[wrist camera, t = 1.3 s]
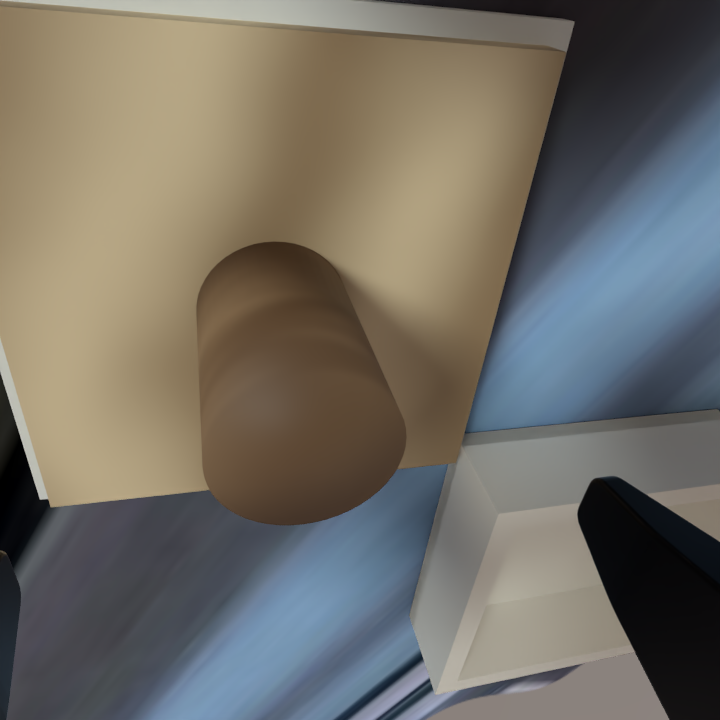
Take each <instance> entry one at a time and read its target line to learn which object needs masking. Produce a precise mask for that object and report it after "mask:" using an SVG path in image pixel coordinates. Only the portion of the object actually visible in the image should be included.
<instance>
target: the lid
mask: <svg viewBox="0 0 720 720" xmlns="http://www.w3.org/2000/svg"><path fill="white" fill-rule="evenodd" d="M565 55H566V52H565V51H562V50H559V49H556V48H553V47H550V46H545V45H533V44H521V43H508V42H496V41H484V40H472V39H460V38H448V37H436V36H424V35H412V34H400V33H388V32H376V31H364V30H352V29H340V28H328V27H315V26H303V25H291V24H279V23H267V22H255V21H243V20H231V19H219V18H207V17H195V16H183V15H171V14H159V13H146V12H134V11H122V10H110V9H98V8H86V7H74V6H62V5H50V4H38V3H26V2H14V1H2V0H0V339H1V342H2V345H3V349H4V352H5V355H6V359H7V362H8V365H9V369H10V372H11V376H12V379H13V382H14V386H15V389H16V392H17V396H18V399H19V402H20V406H21V409H22V412H23V416H24V419H25V422H26V426H27V429H28V432H29V436H30V439H31V442H32V446H33V449H34V452H35V456H36V459H37V463H38V466H39V469H40V473H41V476H42V479H43V483H44V486H45V489H46V493H47V496H48V499H49V503H50V506H51V507H59V506H68V505H77V504H86V503H95V502H104V501H113V500H122V499H131V498H141V497H150V496H159V495H168V494H177V493H186V492H195V491H204V490H210V491H211V493H212V494H213V496H214V497H215V498H216V499H217V500H218V501H219V502H220V503H221V504H222V505H223V506H225V507H226V508H227V509H229V510H230V511H232V512H234V513H235V514H237V515H239V516H242V517H244V518H246V519H249V520H253V521H256V522H261V523H266V524H274V525H299V524H307V523H313V522H318V521H322V520H326V519H329V518H332V517H335V516H338V515H340V514H343V513H345V512H347V511H349V510H351V509H353V508H355V507H357V506H359V505H360V504H362V503H363V502H365V501H366V500H368V499H369V498H371V497H372V496H373V495H374V494H376V493H377V492H378V491H379V490H380V489H381V488H382V487H383V486H384V485H385V484H386V483H387V482H388V481H389V479H390V478H391V477H392V476H393V474H394V473H395V471H396V470H397V469H405V468H414V467H423V466H432V465H441V464H450V463H456V462H457V458H458V454H459V451H460V447H461V443H462V439H463V436H464V432H465V428H466V425H467V421H468V417H469V413H470V410H471V406H472V402H473V398H474V395H475V391H476V387H477V384H478V380H479V376H480V372H481V369H482V365H483V361H484V357H485V354H486V350H487V346H488V343H489V339H490V335H491V331H492V328H493V324H494V320H495V316H496V313H497V309H498V305H499V301H500V298H501V294H502V290H503V287H504V283H505V279H506V275H507V272H508V268H509V264H510V260H511V257H512V253H513V249H514V246H515V242H516V238H517V234H518V231H519V227H520V223H521V219H522V216H523V212H524V208H525V205H526V201H527V197H528V193H529V190H530V186H531V182H532V178H533V175H534V171H535V167H536V163H537V160H538V156H539V152H540V149H541V145H542V141H543V137H544V134H545V130H546V126H547V122H548V119H549V115H550V111H551V108H552V104H553V100H554V96H555V93H556V89H557V85H558V81H559V78H560V74H561V70H562V67H563V63H564V59H565Z"/></svg>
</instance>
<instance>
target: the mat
mask: <svg viewBox="0 0 720 720" xmlns="http://www.w3.org/2000/svg"><path fill="white" fill-rule="evenodd" d="M2 1H14V2H26V3H38V4H50V5H62V6H74V7H86V8H98V9H110V10H122V11H134V12H146V13H159V14H171V15H183V16H195V17H207V18H219V19H231V20H243V21H255V22H267V23H279V24H291V25H303V26H315V27H328V28H340V29H352V30H364V31H376V32H388V33H400V34H412V35H424V36H436V37H448V38H460V39H472V40H484V41H496V42H508V43H521V44H533V45H545V46H550V47H553V48H556V49H559V50H562V51H565V52H566V53H567V49H568V45H569V41H570V38H571V34H572V30H573V27H574V23H575V22H574V21H570V20H566V19H561V18H551V17H541V16H530V15H520V14H510V13H499V12H489V11H478V10H468V9H458V8H447V7H437V6H427V5H416V4H406V3H395V2H385V1H375V0H2ZM565 56H566V55H565ZM564 60H565V59H564ZM563 64H564V63H563ZM562 68H563V67H562ZM561 71H562V70H561ZM560 75H561V74H560ZM559 79H560V78H559ZM558 82H559V81H558ZM557 86H558V85H557ZM556 90H557V89H556ZM555 94H556V93H555ZM554 97H555V96H554ZM553 101H554V100H553ZM552 105H553V104H552ZM551 109H552V108H551ZM550 112H551V111H550ZM549 116H550V115H549ZM548 120H549V119H548ZM547 123H548V122H547ZM546 127H547V126H546ZM545 131H546V130H545ZM544 135H545V134H544ZM543 138H544V137H543ZM542 142H543V141H542ZM541 146H542V145H541ZM540 150H541V149H540ZM539 153H540V152H539ZM538 157H539V156H538ZM537 161H538V160H537ZM536 164H537V163H536ZM535 168H536V167H535ZM534 172H535V171H534ZM533 176H534V175H533ZM532 179H533V178H532ZM531 183H532V182H531ZM530 187H531V186H530ZM529 191H530V190H529ZM528 194H529V193H528ZM527 198H528V197H527ZM526 202H527V201H526ZM524 209H525V208H524ZM523 213H524V212H523ZM522 217H523V216H522ZM521 220H522V219H521ZM520 224H521V223H520ZM519 228H520V227H519ZM518 232H519V231H518ZM517 235H518V234H517ZM516 239H517V238H516ZM515 243H516V242H515ZM513 250H514V249H513ZM512 254H513V253H512ZM511 258H512V257H511ZM510 261H511V260H510ZM509 265H510V264H509ZM508 269H509V268H508ZM506 276H507V275H506ZM505 280H506V279H505ZM504 284H505V283H504ZM502 291H503V290H502ZM501 295H502V294H501ZM500 299H501V298H500ZM499 302H500V301H499ZM498 306H499V305H498ZM497 310H498V309H497ZM495 317H496V316H495ZM494 321H495V320H494ZM493 325H494V324H493ZM491 332H492V331H491ZM490 336H491V335H490ZM489 340H490V339H489ZM487 347H488V346H487ZM486 351H487V350H486ZM484 358H485V357H484ZM483 362H484V361H483ZM482 366H483V365H482ZM0 372H1V376H2V379H3V382H4V385H5V388H6V392H7V395H8V398H9V401H10V405H11V408H12V411H13V414H14V417H15V421H16V424H17V427H18V430H19V433H20V437H21V440H22V443H23V446H24V450H25V453H26V456H27V459H28V462H29V466H30V469H31V472H32V475H33V478H34V482H35V485H36V488H37V491H38V495H39V498H40V500H41V499H48V496H47V493H46V489H45V486H44V483H43V479H42V476H41V473H40V469H39V466H38V463H37V459H36V456H35V452H34V449H33V446H32V442H31V439H30V436H29V432H28V429H27V426H26V422H25V419H24V416H23V412H22V409H21V406H20V402H19V399H18V396H17V392H16V389H15V386H14V382H13V379H12V376H11V372H10V369H9V365H8V362H7V359H6V355H5V352H4V349H3V345H2V342H1V339H0ZM480 373H481V372H480ZM479 377H480V376H479ZM478 381H479V380H478ZM476 388H477V387H476ZM475 392H476V391H475ZM473 399H474V398H473ZM472 403H473V402H472ZM471 407H472V406H471ZM469 414H470V413H469ZM468 418H469V417H468ZM467 422H468V421H467ZM465 429H466V428H465ZM464 433H465V432H464ZM462 440H463V439H462ZM461 444H462V443H461ZM460 448H461V447H460ZM458 455H459V454H458Z"/></svg>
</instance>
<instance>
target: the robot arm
mask: <svg viewBox="0 0 720 720" xmlns="http://www.w3.org/2000/svg"><path fill="white" fill-rule="evenodd" d="M577 518H578V523H579V526H580V528H581V531H582V533H583V536H584V538H585V541H586V543H587V546H588V548H589V551H590V553H591V556H592V558H593V561H594V564H595V566H596V569H597V571H598V574H599V576H600V579H601V581H602V584H603V586H604V589H605V591H606V594H607V596H608V598H609V601H610V603H611V605H612V607H613V610H614V612H615V614H616V616H617V618H618V620H619V622H620V624H621V626H622V628H623V630H624V632H625V634H626V636H627V638H628V639H629V641H630V643H631V645H632V647H633V649H634V651H635V653H636V655H637V657H638V659H639V661H640V663H641V665H642V667H643V669H644V671H645V673H646V675H647V676H648V679H649V680H650V682H651V684H652V686H653V688H654V690H655V692H656V694H657V696H658V698H659V700H660V702H661V704H662V706H663V708H664V709H665V712H666V714H667V715H668V718H669V720H720V541H718V540H717V539H715V538H713V537H712V536H710V535H709V534H707V533H706V532H704V531H703V530H701V529H699V528H698V527H696V526H695V525H693V524H692V523H690V522H688V521H687V520H685V519H684V518H682V517H681V516H679V515H678V514H676V513H674V512H673V511H671V510H670V509H668V508H667V507H665V506H664V505H662V504H660V503H659V502H657V501H656V500H654V499H653V498H651V497H649V496H648V495H646V494H645V493H643V492H642V491H640V490H639V489H637V488H635V487H634V486H632V485H631V484H629V483H628V482H626V481H625V480H623V479H621V478H619V477H617V476H606V477H598V478H594V479H593V480H592V481H591V482H590V484H589V486H588V488H587V490H586V492H585V494H584V496H583V499H582V501H581V503H580V505H579V507H578V511H577ZM20 603H21V591H20V586H19V583H18V580H17V578H16V575H15V573H14V570H13V568H12V565H11V563H10V560H9V557H8V556H7V554H6V553H5V552H3V551H0V720H6V718H7V711H8V703H9V696H10V687H11V679H12V671H13V662H14V654H15V646H16V637H17V629H18V620H19V612H20Z"/></svg>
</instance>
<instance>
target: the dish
mask: <svg viewBox="0 0 720 720" xmlns="http://www.w3.org/2000/svg"><path fill="white" fill-rule="evenodd" d="M606 476H617V477H619V478H621V479H623V480H625V481H626V482H628V483H629V484H631V485H632V486H634V487H635V488H637V489H639V490H640V491H642V492H643V493H645V494H646V495H648V496H649V497H651V498H653V499H654V500H656V501H657V502H659V503H660V504H662V505H664V506H665V507H667V508H668V509H670V510H671V511H673V512H674V513H676V514H678V515H679V516H681V517H682V518H684V519H685V520H687V521H688V522H690V523H692V524H693V525H695V526H696V527H698V528H699V529H701V530H703V531H704V532H706V533H707V534H709V535H710V536H712V537H713V538H715V539H717V540H718V541H720V411H719V410H718V409H713V410H703V411H692V412H682V413H672V414H661V415H651V416H641V417H630V418H620V419H610V420H599V421H589V422H579V423H568V424H558V425H548V426H537V427H527V428H517V429H507V430H496V431H486V432H476V433H465V434H464V436H463V440H462V444H461V448H460V451H459V455H458V458H457V462H456V463H450V464H448V467H447V471H446V475H445V479H444V483H443V487H442V491H441V494H440V498H439V502H438V506H437V510H436V514H435V518H434V522H433V525H432V529H431V533H430V537H429V541H428V545H427V549H426V553H425V556H424V560H423V564H422V568H421V572H420V576H419V580H418V584H417V588H416V591H415V595H414V599H413V603H412V607H411V611H410V615H409V616H410V619H411V622H412V625H413V628H414V631H415V635H416V638H417V641H418V644H419V647H420V650H421V653H422V656H423V659H424V662H425V665H426V668H427V671H428V674H429V677H430V680H431V683H432V686H433V689H434V692H435V695H437V694H442V693H446V692H451V691H456V690H460V689H465V688H470V687H474V686H479V685H484V684H489V683H493V682H498V681H503V680H507V679H512V678H517V677H521V676H526V675H531V674H536V673H540V672H545V671H550V670H554V669H559V668H564V667H568V666H573V665H578V664H582V663H587V662H591V661H597V660H601V659H606V658H610V657H615V656H620V655H625V654H629V653H634V652H635V651H634V649H633V647H632V645H631V643H630V641H629V639H628V638H627V636H626V634H625V632H624V630H623V628H622V626H621V624H620V622H619V620H618V618H617V616H616V614H615V612H614V610H613V607H612V605H611V603H610V601H609V598H608V596H607V594H606V591H605V589H604V586H603V584H602V581H601V579H600V576H599V574H598V571H597V569H596V566H595V564H594V561H593V558H592V556H591V553H590V551H589V548H588V546H587V543H586V541H585V538H584V536H583V533H582V531H581V528H580V526H579V523H578V518H577V511H578V507H579V505H580V503H581V501H582V499H583V496H584V494H585V492H586V490H587V488H588V486H589V484H590V482H591V481H592V480H593V479H594V478H598V477H606Z"/></svg>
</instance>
